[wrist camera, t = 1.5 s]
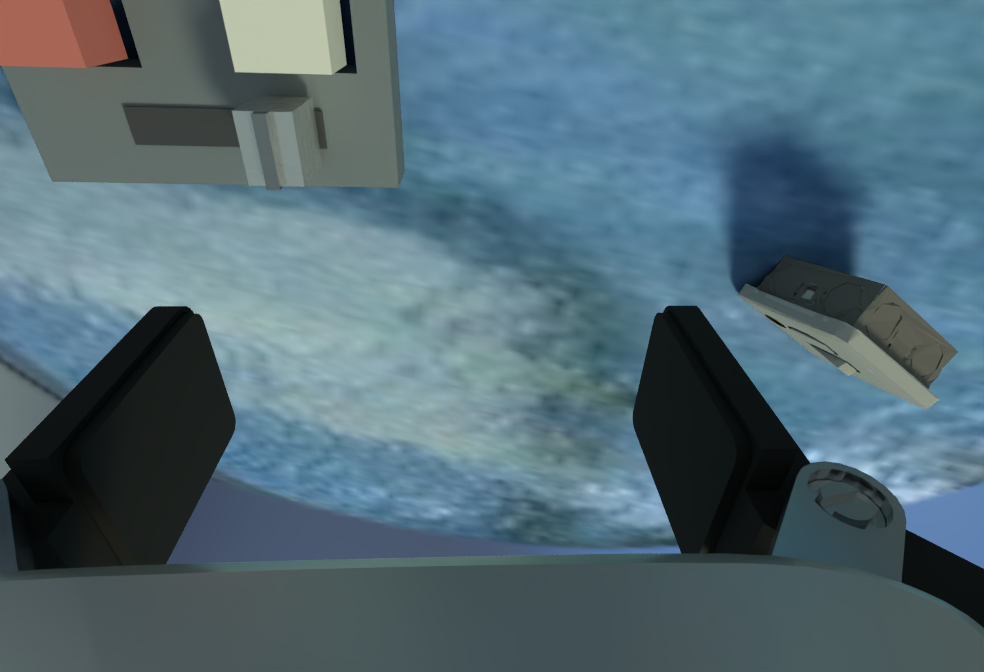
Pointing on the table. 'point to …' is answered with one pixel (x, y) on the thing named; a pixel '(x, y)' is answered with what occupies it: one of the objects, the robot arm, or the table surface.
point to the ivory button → (285, 36)
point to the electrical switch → (854, 327)
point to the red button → (59, 33)
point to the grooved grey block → (278, 140)
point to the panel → (209, 104)
